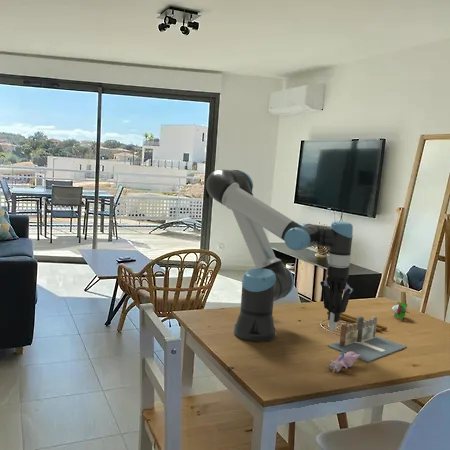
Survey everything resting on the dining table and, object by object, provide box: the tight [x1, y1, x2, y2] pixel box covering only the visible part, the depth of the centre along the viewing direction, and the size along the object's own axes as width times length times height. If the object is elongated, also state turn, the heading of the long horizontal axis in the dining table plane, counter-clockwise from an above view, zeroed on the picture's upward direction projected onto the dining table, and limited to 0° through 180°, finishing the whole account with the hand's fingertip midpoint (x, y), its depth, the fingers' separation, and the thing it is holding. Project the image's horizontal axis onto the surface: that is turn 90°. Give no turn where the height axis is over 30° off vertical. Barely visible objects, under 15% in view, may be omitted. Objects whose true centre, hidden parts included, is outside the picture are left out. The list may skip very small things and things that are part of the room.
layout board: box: [327, 334, 408, 363], centre depth 167 cm, size 25×16×1 cm, turn 130°
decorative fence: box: [326, 311, 388, 333], centre depth 194 cm, size 25×2×10 cm
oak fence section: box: [339, 323, 358, 346], centre depth 167 cm, size 9×2×7 cm, turn 130°
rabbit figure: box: [325, 351, 360, 375], centre depth 148 cm, size 6×6×15 cm
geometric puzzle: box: [391, 301, 409, 320], centre depth 205 cm, size 7×7×8 cm
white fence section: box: [356, 315, 378, 342], centre depth 173 cm, size 12×2×9 cm, turn 130°
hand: (332, 329), depth 170 cm, fingers closed
